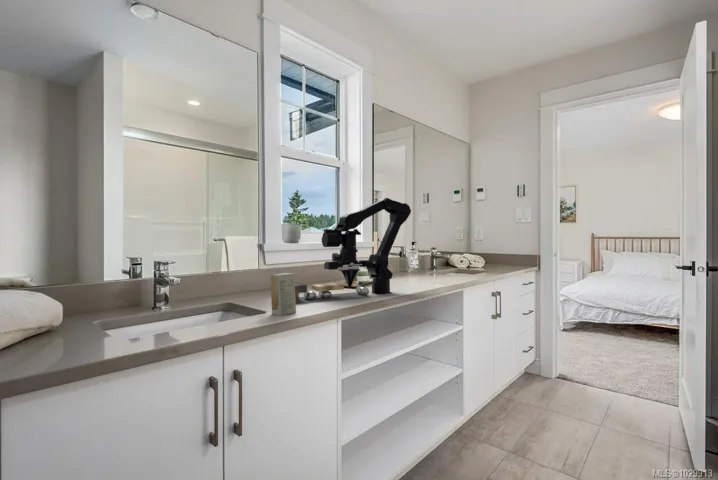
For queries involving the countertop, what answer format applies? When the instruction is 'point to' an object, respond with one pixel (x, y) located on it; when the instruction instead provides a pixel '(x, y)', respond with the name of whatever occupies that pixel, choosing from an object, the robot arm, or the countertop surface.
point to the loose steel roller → (310, 295)
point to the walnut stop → (299, 290)
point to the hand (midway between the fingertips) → (349, 287)
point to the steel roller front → (325, 294)
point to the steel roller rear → (362, 291)
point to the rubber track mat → (333, 298)
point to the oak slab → (327, 287)
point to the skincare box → (283, 294)
